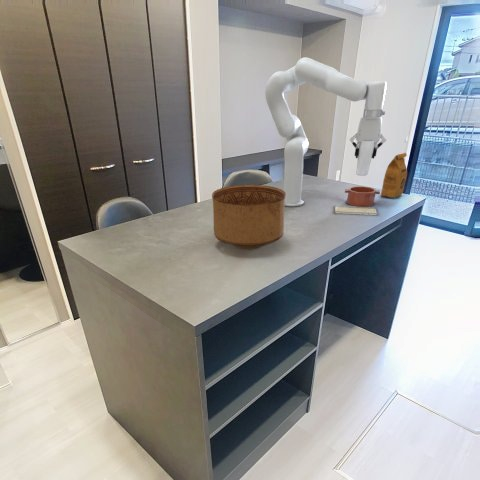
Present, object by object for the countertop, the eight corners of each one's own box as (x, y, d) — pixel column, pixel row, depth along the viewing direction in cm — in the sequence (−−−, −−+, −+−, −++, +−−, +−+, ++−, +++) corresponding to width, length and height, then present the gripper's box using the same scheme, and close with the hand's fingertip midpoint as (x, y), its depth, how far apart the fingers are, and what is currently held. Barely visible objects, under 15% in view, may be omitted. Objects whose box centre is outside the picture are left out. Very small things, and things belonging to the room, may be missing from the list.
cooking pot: (343, 205, 185) (345, 192, 181) (342, 198, 196) (344, 185, 192) (378, 207, 182) (381, 193, 178) (376, 200, 193) (378, 187, 189)
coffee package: (405, 195, 200) (415, 153, 187) (393, 200, 193) (403, 156, 181) (389, 192, 206) (398, 151, 193) (377, 196, 199) (386, 154, 187)
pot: (217, 232, 155) (215, 185, 144) (280, 232, 154) (283, 184, 143) (211, 258, 132) (208, 204, 121) (285, 258, 131) (288, 203, 120)
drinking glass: (352, 173, 173) (357, 139, 165) (365, 173, 174) (371, 139, 165) (357, 176, 168) (363, 141, 159) (371, 176, 168) (377, 141, 160)
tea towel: (335, 213, 175) (335, 212, 175) (335, 206, 185) (335, 205, 185) (377, 215, 171) (377, 214, 171) (375, 208, 181) (375, 207, 181)
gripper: (391, 113, 158) (383, 157, 168) (351, 113, 161) (345, 156, 171) (393, 115, 152) (384, 159, 162) (352, 114, 155) (345, 158, 165)
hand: (364, 157), depth 166 cm, fingers closed on drinking glass, 6 cm apart
